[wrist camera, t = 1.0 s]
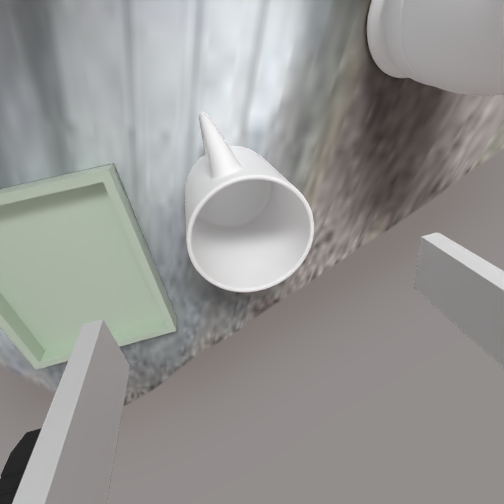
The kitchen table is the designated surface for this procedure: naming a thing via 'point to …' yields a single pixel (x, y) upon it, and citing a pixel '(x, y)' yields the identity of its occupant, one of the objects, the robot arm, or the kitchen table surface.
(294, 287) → the kitchen table surface
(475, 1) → the jar
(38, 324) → the tray
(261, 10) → the kitchen table surface
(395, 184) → the kitchen table surface
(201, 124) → the mug
